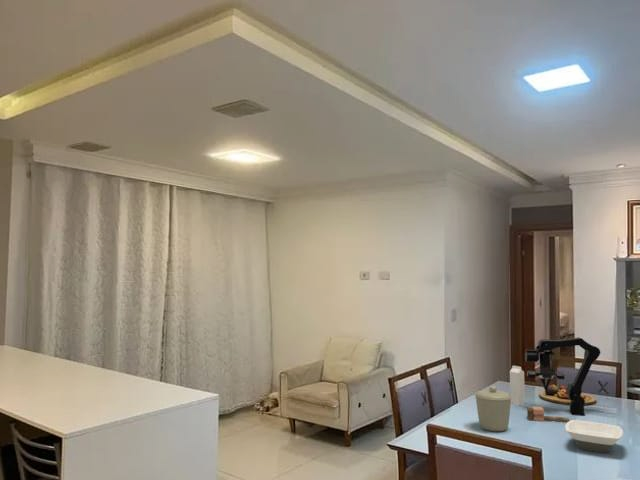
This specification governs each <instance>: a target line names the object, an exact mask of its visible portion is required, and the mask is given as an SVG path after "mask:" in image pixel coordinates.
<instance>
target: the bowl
mask: <svg viewBox="0 0 640 480" xmlns="http://www.w3.org/2000/svg"><path fill="white" fill-rule="evenodd" d="M564 429H565V431H566V432H567V433H568V434H569V436H570V437H571V438H572V439H573V440H574V441H575V443H576V444H577V446H578V447H579V448H580V449H581V450H585V451H590V452H596V453H602V454H603V453H604V454H607V453H609V451H610V450H611V449H612V447H613V446H614V444H616V443H617V442H618V441H619V440H620V439H621V438H622V437H623V435H624V431H623V429H622V427H621V426H619V425H614V424H608V423H601V422H595V421H586V420H576V419H570V421H569V422H567V423H565V426H564Z"/></svg>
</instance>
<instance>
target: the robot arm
mask: <svg viewBox="0 0 640 480" xmlns="http://www.w3.org/2000/svg"><path fill="white" fill-rule="evenodd" d="M573 346H575V347H576V346H579V347H580V348H581V349H583V350H584V354H583V361H582V363H581V365H580V367H579V369H578V371H577V374H576V376H575V378H574V380H573V382H572V383H571V384H570V383H567V386H566V387H567V388H566V389H565V390H566V395H567V396H568V397H569V398H570V400H571V404H569V405H568V406H569V412H570V414H571V415H574V416H586V414H585V405H584V403H585V400H584V399H583V398H582V397H581V392H582V393H583V391H582V387H583V384H584V383H585V380H586V378H587V376H588V373H589V371H590V370H591V368H592V365H593V363H594V362H596V361H597V359H598V358H599V357H600V355H601V349H600V348H599V347H597V346H595V345H591V344H590V343H589V342H587V341H586V340H584V339H583V338H581V337H573V338H572V337H571V338H563V339H540V340H539V341H538V343H537V346H536V347H535V348H534V349H525V353H524V361H525V363H528V362H529V363H537V362H538V361H539V372H536V371H535V370H527V372H526V376H527V377H528V378H535V377H537V379H538V380H540V381H541V383H542V385H543V388H544V391H547V388H548V386H550V382H551V381H554V378H557V380H565V374H564V373H563V372H557V371H556V369H555V368H552V366H551V365H552V361H551V356H554V355H555V353H554V352H553V351H552V350H554V349H556V348H565V347H573Z"/></svg>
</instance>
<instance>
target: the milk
mask: <svg viewBox="0 0 640 480" xmlns="http://www.w3.org/2000/svg"><path fill="white" fill-rule="evenodd" d="M525 390H526V389H525V371H524V370H523V369H522V367H521V366H518V365H512V366H511V369H510V370H509V395H511V396H512V399H511V405H512V404H513V405H517V406H522V405H525V404H526V395H525V394H526V393H525V392H526V391H525Z"/></svg>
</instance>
